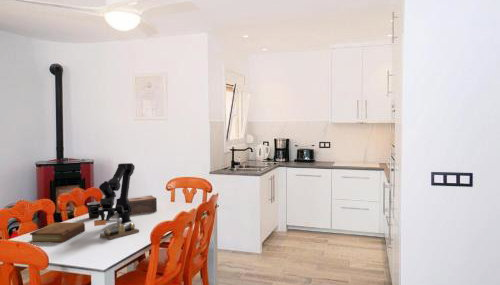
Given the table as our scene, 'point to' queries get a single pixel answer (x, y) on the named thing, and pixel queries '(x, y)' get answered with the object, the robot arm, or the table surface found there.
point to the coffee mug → (93, 205)
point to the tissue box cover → (143, 204)
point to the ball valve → (119, 231)
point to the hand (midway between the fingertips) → (104, 223)
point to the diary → (57, 232)
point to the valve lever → (103, 222)
